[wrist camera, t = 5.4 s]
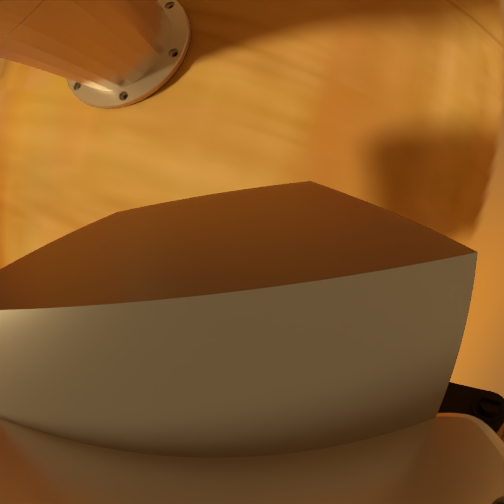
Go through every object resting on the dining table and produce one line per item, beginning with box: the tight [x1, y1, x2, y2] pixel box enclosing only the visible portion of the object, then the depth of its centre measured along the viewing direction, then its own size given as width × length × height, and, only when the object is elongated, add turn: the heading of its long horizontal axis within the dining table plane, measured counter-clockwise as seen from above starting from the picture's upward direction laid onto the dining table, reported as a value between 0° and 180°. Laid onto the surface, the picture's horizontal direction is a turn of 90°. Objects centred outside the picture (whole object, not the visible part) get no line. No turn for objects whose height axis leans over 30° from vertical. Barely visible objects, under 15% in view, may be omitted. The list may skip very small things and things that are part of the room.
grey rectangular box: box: [0, 181, 477, 458], centre depth 8 cm, size 10×8×9 cm
